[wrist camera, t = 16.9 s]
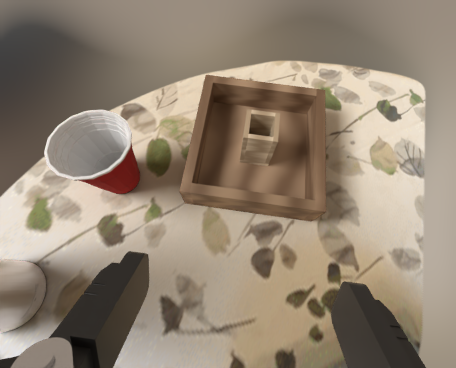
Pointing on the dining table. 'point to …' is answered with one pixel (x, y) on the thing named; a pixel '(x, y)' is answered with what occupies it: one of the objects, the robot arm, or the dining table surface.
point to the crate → (251, 173)
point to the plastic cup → (94, 151)
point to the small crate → (259, 137)
